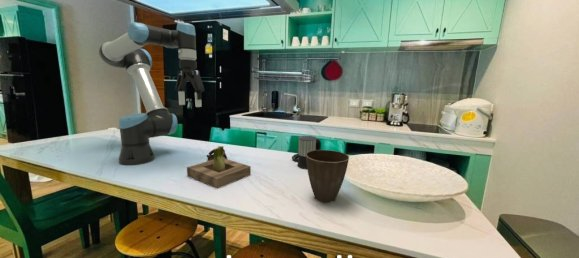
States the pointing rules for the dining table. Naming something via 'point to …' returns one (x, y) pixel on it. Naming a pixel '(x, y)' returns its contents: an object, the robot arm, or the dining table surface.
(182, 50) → the robot arm
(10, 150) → the dining table surface
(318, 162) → the plant pot
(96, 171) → the dining table surface
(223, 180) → the tray
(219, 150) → the fennel bulb
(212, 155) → the brown animal figurine
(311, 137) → the milk frother
